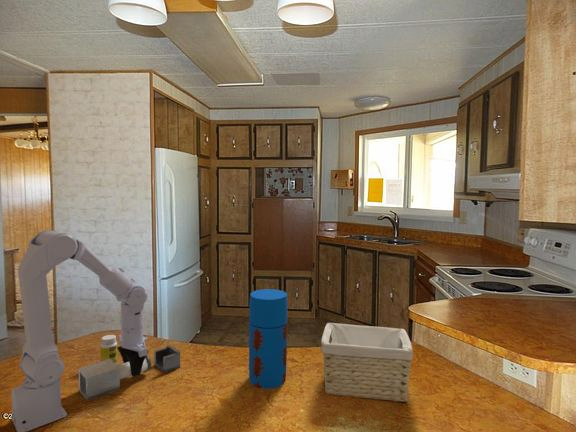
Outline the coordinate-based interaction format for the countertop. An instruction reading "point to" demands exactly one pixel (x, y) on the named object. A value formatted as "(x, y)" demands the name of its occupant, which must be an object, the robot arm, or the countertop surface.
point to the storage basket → (366, 361)
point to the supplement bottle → (109, 348)
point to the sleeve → (99, 379)
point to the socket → (167, 358)
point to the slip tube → (126, 370)
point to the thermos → (267, 338)
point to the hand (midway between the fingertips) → (132, 372)
